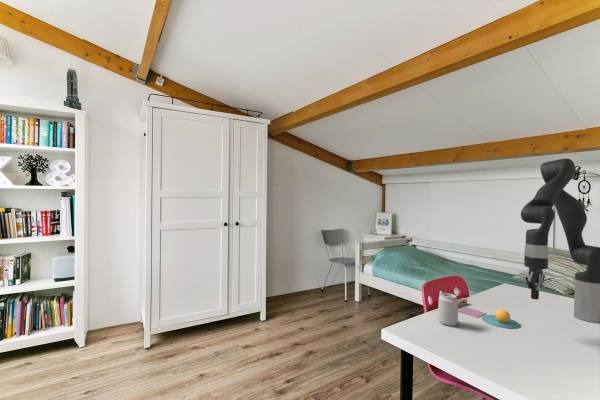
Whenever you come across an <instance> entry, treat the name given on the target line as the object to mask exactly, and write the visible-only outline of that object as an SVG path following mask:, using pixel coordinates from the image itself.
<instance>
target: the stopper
mask: <svg viewBox="0 0 600 400" xmlns="http://www.w3.org/2000/svg"><path fill="white" fill-rule="evenodd" d="M457 299H458V308H459V307H463V306H466V305H467V304H468V299H467V298H465V297H461V298H457Z"/></svg>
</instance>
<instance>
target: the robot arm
mask: <svg viewBox="0 0 600 400" xmlns="http://www.w3.org/2000/svg"><path fill="white" fill-rule="evenodd" d="M539 170H540V175H541V177H542V180H543V181H544V183H545V184H543V185H541V187H539V189H538V190H537V192H536V193H535V195H534V197H533V199H531V200H530V201H529V202H528V203H526V204H525V205H524V206H523V207H522V209H521V211H520V218H521V220H522V221H523V222H525V223H526V224H540V226H539V227H538V228H532V229H531V228H530V229H527V230H526V232H525V246H524V254H523V255H524V258H523V260H524V261H523V262H524V263H523V264H524V265H523V266H524V267H526V268H528V272H527V276H525V281H526V285H527V287H528V289H530V299H531V300H532V299H533V300H536V301H537V300H539V299H540V291H541V288H543V284H544V281H545V278H546V275H545V274H544V272H543V270H548V268H549V233H550V230H551V226H552V225H553V222H554V220H555V216H556V215H555V214H556V213H555V210H556V212H557V215H558V219H559V221H560V223H561V225H562V229H563V232H564V235H565V238H566V242H567V247H568V251H569V255H570V257H571V260H572V261H573V262H575V263H576V264H578V265H581V266H582V265H583V266H586V270H585V271H579V272H576V273H575V274H574V297H573V298H574V300H573V301H574V303H573V317H575V318H577V319H579V320H581V321H586V322H590V323H600V246H595V245H587V244H586V243H585V241H584V239H583V231H584V230H585V229H584V228H585V226H586V224H587V223H588V222H587V221H588V216H587V214H586V210H585V208H584V206H583V203H582V202H581V201H579V200H578V199H577V198H576V197H574V196H573V195H571V194H570V193H569V192H567V191H566V190H565V188H566V186H567V185H568V184H569V182H570V181H571V180H572V179H573V178H574V176H575V174H576V165H575V163H574V161H573V160H572V159H570V158H566V157H565V158H560V159H559V158H558V159H556V160H555V159H554V160H550V161H546V162H543V163H542V164H541V165H540V169H539ZM554 206H555V210H554V208H553V207H554Z"/></svg>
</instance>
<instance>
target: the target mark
mask: <svg viewBox="0 0 600 400" xmlns="http://www.w3.org/2000/svg"><path fill="white" fill-rule="evenodd" d="M481 320H482V321H483V322H485V323H487V324H489V325H491V326H493V327H494V326H495V327H497V328H502V329H513V330H517V329H520V328H521V327H522V326H521V323H520V322H517V321H516V320H514V319H511V318H510V321H509V322H507V323H502V322H499V321H498V320H497V319H496V317H495V314H486V315H483V316H481Z"/></svg>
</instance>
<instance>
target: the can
mask: <svg viewBox="0 0 600 400" xmlns="http://www.w3.org/2000/svg"><path fill="white" fill-rule="evenodd" d="M458 299H459V298H457V296H456V295H455V294H453V293H448V292H443V293H440V295H439V296H438V309H437V310H438V311H437V313H438V314H437V315H438V316H437V320H438V322H439V323H440V324H442V325H443V326H447V327H455V326H456V325H458V323H459V312H458V310H459V307H458Z"/></svg>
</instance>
